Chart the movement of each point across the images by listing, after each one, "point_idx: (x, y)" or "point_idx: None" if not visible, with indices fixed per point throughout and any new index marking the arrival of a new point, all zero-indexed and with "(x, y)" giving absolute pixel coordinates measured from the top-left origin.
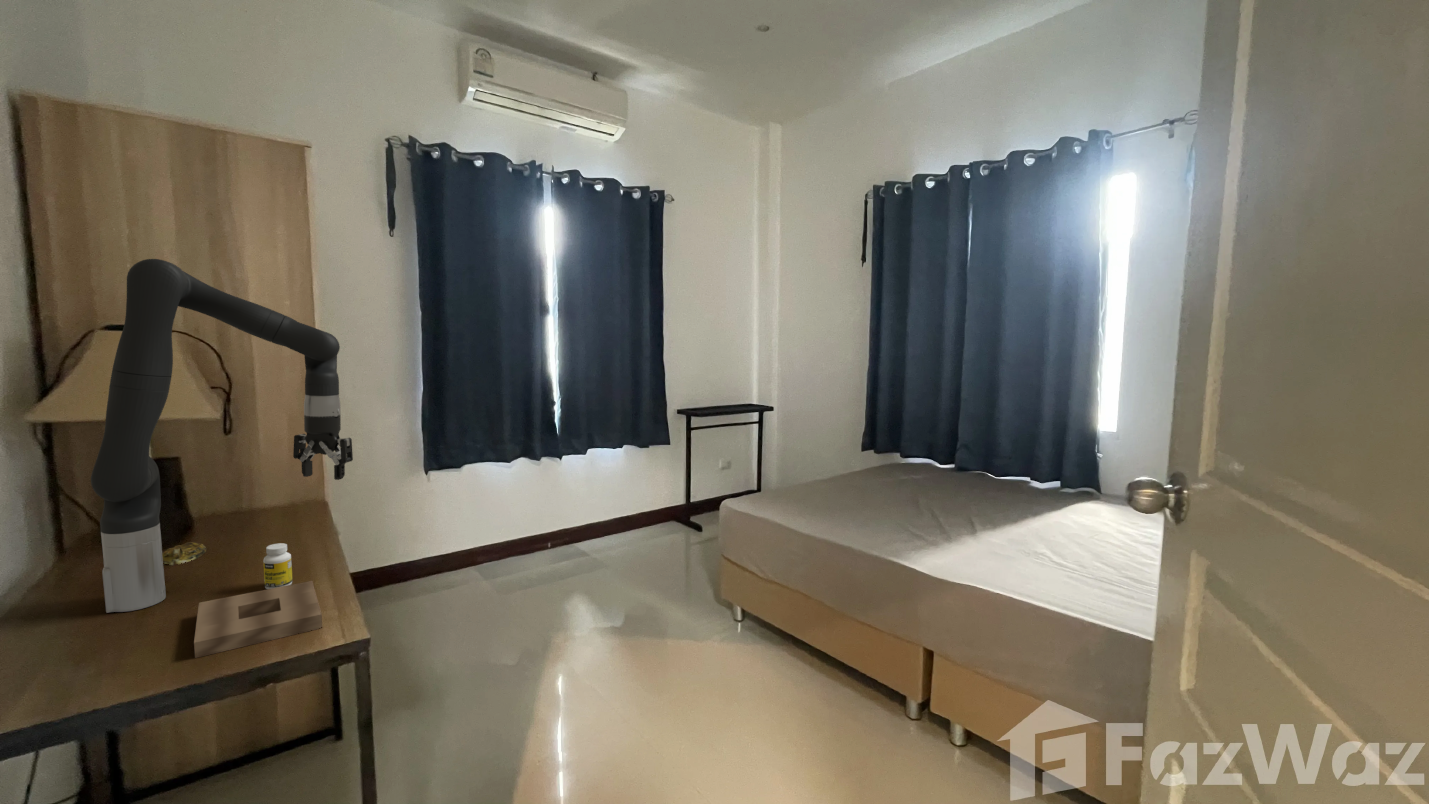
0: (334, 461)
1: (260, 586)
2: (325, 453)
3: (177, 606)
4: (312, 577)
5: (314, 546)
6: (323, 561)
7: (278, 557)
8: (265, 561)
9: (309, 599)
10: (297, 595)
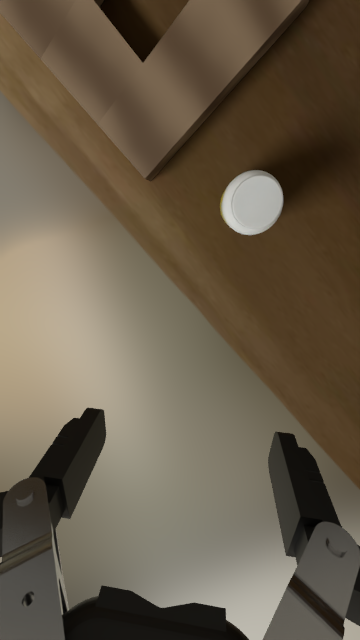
0: (40, 506)
1: None
2: (98, 601)
3: None
4: (205, 254)
5: (301, 389)
6: (236, 327)
7: (237, 186)
8: (264, 171)
9: (71, 71)
10: (114, 88)
